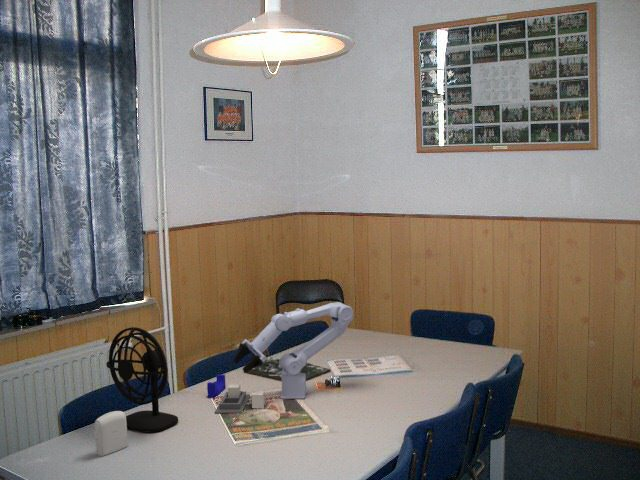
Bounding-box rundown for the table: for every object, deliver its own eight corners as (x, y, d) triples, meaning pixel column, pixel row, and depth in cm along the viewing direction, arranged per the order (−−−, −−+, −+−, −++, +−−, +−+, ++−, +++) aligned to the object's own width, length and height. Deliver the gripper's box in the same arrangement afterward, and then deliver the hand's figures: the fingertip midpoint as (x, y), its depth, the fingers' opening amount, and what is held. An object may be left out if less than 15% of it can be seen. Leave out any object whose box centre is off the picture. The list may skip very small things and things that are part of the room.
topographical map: (296, 386, 293) (296, 378, 292) (239, 372, 313) (239, 366, 313) (335, 371, 313) (335, 364, 312) (279, 359, 333) (279, 353, 333)
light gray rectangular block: (264, 405, 269) (264, 391, 268) (263, 409, 265) (262, 394, 264) (253, 405, 269) (253, 391, 268) (252, 409, 265) (251, 394, 264)
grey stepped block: (250, 395, 280) (249, 380, 280) (242, 413, 260) (241, 397, 260) (224, 395, 281) (224, 380, 280) (214, 413, 261) (213, 397, 260)
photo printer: (102, 457, 224) (99, 418, 223) (94, 454, 227) (92, 416, 226) (130, 447, 232) (128, 409, 231) (122, 444, 235) (120, 407, 233)
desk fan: (99, 426, 252) (93, 327, 248) (136, 410, 266) (131, 317, 263) (157, 439, 238) (151, 335, 234) (192, 422, 252) (188, 324, 249)
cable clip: (214, 388, 291) (214, 374, 290) (225, 389, 290) (225, 374, 289) (204, 398, 279) (203, 383, 279) (215, 398, 278) (214, 383, 278)
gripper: (249, 326, 276) (224, 352, 273) (268, 342, 265) (242, 370, 262) (259, 336, 280) (234, 362, 278) (278, 352, 269) (253, 379, 267)
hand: (239, 366), depth 270 cm, fingers open, 7 cm apart
